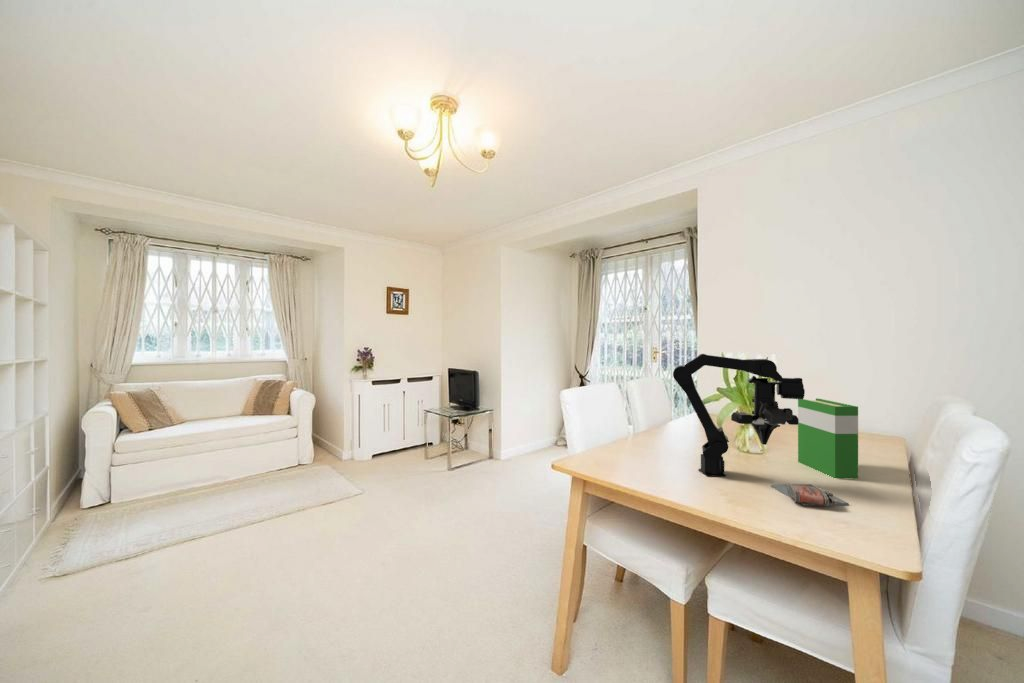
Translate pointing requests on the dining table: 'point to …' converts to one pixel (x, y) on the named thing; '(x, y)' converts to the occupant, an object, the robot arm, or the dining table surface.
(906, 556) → the dining table surface
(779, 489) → the mat
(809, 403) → the hardback book
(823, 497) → the lighter
